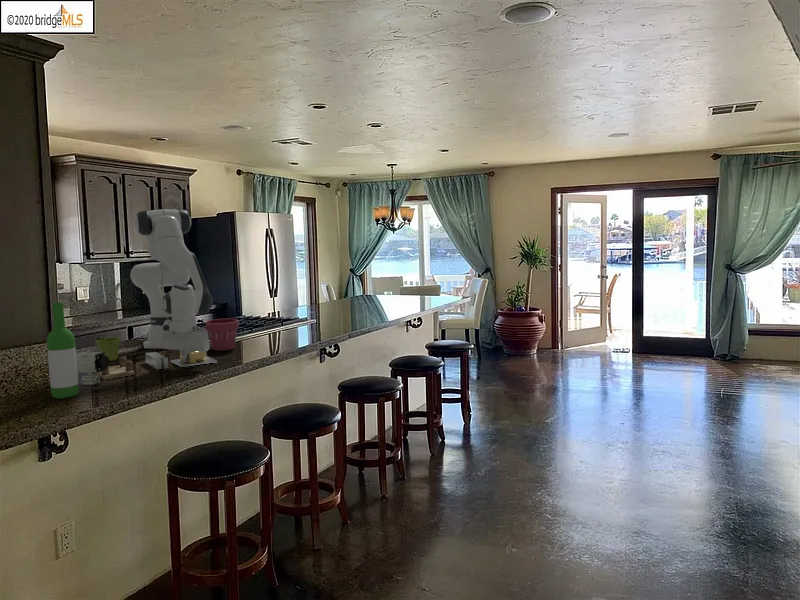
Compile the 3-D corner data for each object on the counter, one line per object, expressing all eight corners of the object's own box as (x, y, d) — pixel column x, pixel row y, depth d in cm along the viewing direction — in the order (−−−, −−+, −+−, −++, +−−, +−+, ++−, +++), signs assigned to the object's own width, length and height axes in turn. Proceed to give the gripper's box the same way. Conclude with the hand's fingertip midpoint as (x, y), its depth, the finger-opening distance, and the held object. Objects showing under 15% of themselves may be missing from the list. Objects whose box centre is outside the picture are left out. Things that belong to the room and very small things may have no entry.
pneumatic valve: (79, 382, 207) (76, 348, 206) (111, 382, 206) (108, 348, 205) (69, 386, 202) (66, 351, 200) (101, 386, 200) (98, 351, 199)
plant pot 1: (127, 358, 249) (126, 338, 248) (108, 362, 240) (106, 341, 239) (111, 357, 253) (110, 337, 252) (92, 361, 244) (90, 340, 243)
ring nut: (181, 358, 240) (180, 349, 239) (207, 356, 242) (206, 347, 242) (178, 365, 226) (178, 355, 226) (206, 362, 229) (205, 353, 229)
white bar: (145, 362, 238) (145, 353, 238) (156, 361, 241) (155, 351, 240) (157, 370, 224) (156, 359, 223) (168, 368, 226) (167, 358, 226)
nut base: (170, 362, 238) (170, 359, 238) (205, 357, 246) (205, 355, 246) (181, 368, 227) (180, 365, 226) (217, 362, 235) (217, 360, 235)
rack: (95, 372, 223) (94, 359, 222) (125, 368, 229) (124, 355, 228) (103, 380, 210) (102, 366, 209) (134, 375, 216) (133, 362, 215)
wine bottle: (59, 400, 184) (51, 304, 180) (46, 397, 188) (38, 303, 184) (84, 394, 190) (76, 301, 187) (70, 391, 194) (63, 301, 191)
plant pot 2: (227, 352, 257) (225, 323, 255) (200, 351, 261) (198, 322, 260) (246, 346, 270) (244, 318, 269) (219, 345, 275) (218, 318, 273)
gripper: (212, 326, 227) (213, 361, 229) (168, 323, 233) (170, 357, 235) (201, 329, 221) (203, 365, 223) (157, 326, 228) (159, 361, 229)
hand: (186, 361), depth 229 cm, fingers closed
